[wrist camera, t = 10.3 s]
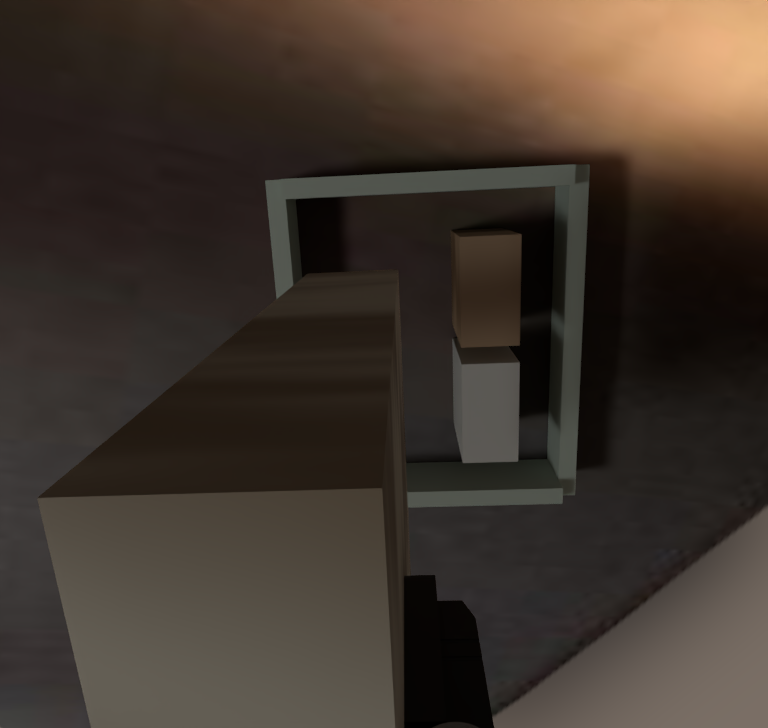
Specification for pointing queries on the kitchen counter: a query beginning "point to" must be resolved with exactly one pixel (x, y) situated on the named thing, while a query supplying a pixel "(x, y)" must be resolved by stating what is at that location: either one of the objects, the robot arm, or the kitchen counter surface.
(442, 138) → the kitchen counter surface
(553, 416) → the bin
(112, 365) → the kitchen counter surface
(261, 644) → the birch sheet
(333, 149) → the kitchen counter surface
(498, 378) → the grey offcut
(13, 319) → the kitchen counter surface
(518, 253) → the walnut offcut
